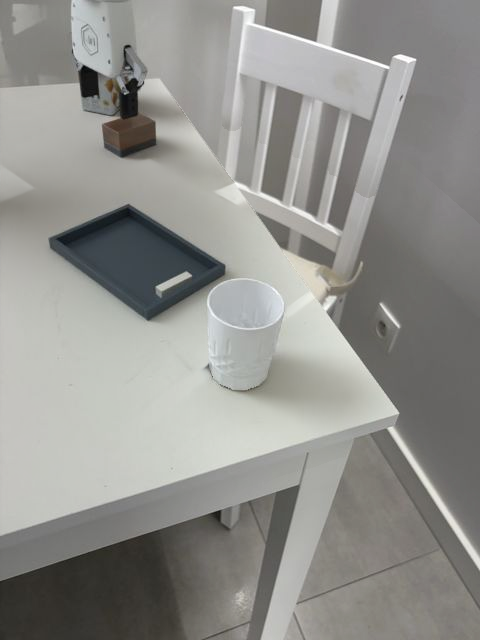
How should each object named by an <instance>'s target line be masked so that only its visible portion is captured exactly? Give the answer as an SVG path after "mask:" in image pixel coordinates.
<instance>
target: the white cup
mask: <svg viewBox="0 0 480 640" xmlns="http://www.w3.org/2000/svg"><path fill="white" fill-rule="evenodd" d="M206 307H207V308H206V310H207V312H206V313H207V317H206V318H207V351H208V368H209V367H210V368H209V371H211V372H210V375H211V374H212V375H211V377H212V376H213V377H212V378H213V380H215V381H216V380H217V381H218V382H219V383H218V382H217V381H216V382H217V383H218V385H220V384H221V385H223V386H222V387H224V386H226V387H228V388H227V389H229V388H231V389H232V391H245V390H246V391H249V390H251V389H250V388H252V389H255V388H257V387H256V386H258V387H259V386H261V384H262V383H264V382H265V381H266V379H267V378H268V373H269V369H270V365H271V363H272V360H273V358H274V355H275V351H276V349H277V348H276V347H277V343H278V340H279V336H280V331H281V327H282V324H283V319H284V315H285V312H286V302H285V300H284V298H283V295H282V294H281V293H280V292H279V291H278V290H277V289H276V288H274V287H273V286H272V285H270V284H268V283H266V282H265V281H264V282H263V281H261V280H257V279H253V278H247V277H246V278H245V277H244V278H242V277H240V278H231V279H228V280H225V281H222V282H220V283H217V285H215V286H214V287H212V289H211V290H210V291H209V293H208V295H207V299H206ZM221 385H220V386H221ZM226 387H225V388H226ZM254 387H255V388H254ZM231 389H230V390H231ZM248 389H249V390H248Z"/></svg>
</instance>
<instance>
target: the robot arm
mask: <svg viewBox="0 0 480 640" xmlns="http://www.w3.org/2000/svg"><path fill="white" fill-rule="evenodd" d="M70 16H71V17H70V25H71V27H70V28H71V31H70V32H68V33H67V38H68V42H69V45H70V47H71V55H72V56H73V58H74V60H75V68H76V70H77V71H78V70H80V71H79V76H78V81H79V80H80V84H79V91H80V90H81V93H80V97H81V96H82V97H84V98H87V97H91V96H95V95H98V94H99V84H98V73H100V74H102V75H104V76H107V77H109V78H114V77H116V79H117V81H118V84H119V86H120V88H121V90H122V92H120V93H119V105H120V109H119V118H122V119H123V120H125V119H128V118H132V117H136V116H137V115H138V113H139V92H140V91H141V90H142V87H143V86H144V85H145V80H146V77H147V74H148V68H147V66H146V65H145V63H144V62H143V61H142V59H141V58H140V57H139V56H138V50H137V35H136V34H137V33H136V26H135V18H134V10H133V6H132V0H71V4H70ZM121 70H122V71H121ZM125 76H128V78H129V82H128V83H126V81H125V79H124V77H125Z"/></svg>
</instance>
